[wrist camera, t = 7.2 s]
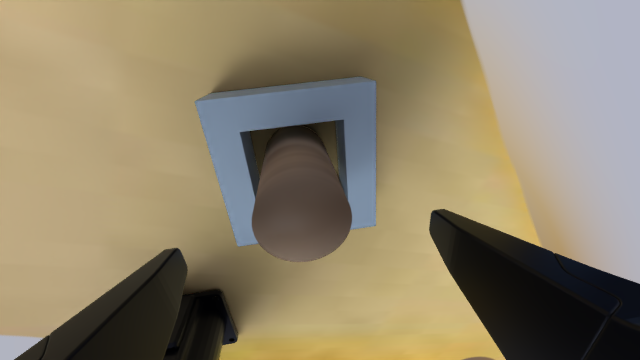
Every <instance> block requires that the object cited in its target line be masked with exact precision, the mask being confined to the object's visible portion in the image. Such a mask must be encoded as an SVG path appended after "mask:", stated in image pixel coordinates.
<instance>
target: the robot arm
mask: <svg viewBox="0 0 640 360" xmlns="http://www.w3.org/2000/svg"><path fill="white" fill-rule="evenodd" d="M429 231H430V235H431V237H432V239H433V241H434V243H435V245H436V247H437V249H438V251H439V253H440V255H441V257H442V259H443V261H444V263H445V265H446V267H447V268H448V270H449V272H450V274H451V275H452V277H453V278H454V280H455V282H456V283H457V285H458V286H459V288H460V289H461V291H462V292H463V294H464V295H465V297H466V299H467V300H468V302H469V303H470V305H471V306H472V308H473V309H474V311H475V312H476V314H477V316H478V317H479V319H480V320H481V322H482V323H483V325H484V326H485V328H486V329H487V331H488V333H489V334H490V336H491V337H492V339H493V340H494V342H495V343H496V345H497V346H498V348H499V349H500V351H501V353H502V354H503V356H504V357H505V359H506V360H640V284H638V283H636V282H633V281H630V280H627V279H624V278H621V277H618V276H615V275H612V274H610V273H607V272H604V271H601V270H598V269H596V268H593V267H590V266H588V265H585V264H582V263H580V262H577V261H575V260H572V259H569V258H567V257H564V256H562V255H559V254H556V253H555V254H554V253H553V252H552V251H549V250H547V249H544V248H541V247H539V246H536V245H534V244H531V243H529V242H526V241H524V240H521V239H519V238H516V237H514V236H511V235H509V234H506V233H503V232H501V231H498V230H496V229H493V228H491V227H488V226H486V225H483V224H481V223H478V222H476V221H473V220H471V219H468V218H466V217H463V216H460V215H458V214H455V213H453V212H450V211H448V210H445V209H439V210H433V211H432V213H431V219H430V227H429ZM186 276H187V265H186V262H185V260H184V258H183V255H182V253H181V251H180V249H178V248H172V249H166V250H164V251H163V252H161V253H160V254H158V255H157V256H156V257H154V258H153V259H152V260H150V261H149V262H147V263H146V264H145V265H143V266H142V267H141V268H139V269H138V270H137V271H135V272H134V273H132V274H131V275H130V276H128V277H127V278H126V279H124V280H123V281H121V282H120V283H119V284H117V285H116V286H115V287H113V288H112V289H111V290H109V291H108V292H106V293H105V294H104V295H102V296H101V297H100V298H98V299H97V300H95V301H94V302H93V303H91V304H90V305H89V306H87V307H86V308H85V309H83V310H82V311H80V312H79V313H78V314H76V315H75V316H74V317H72V318H71V319H69V320H68V321H67V322H65V323H64V324H63V325H61V326H60V327H59V328H57V329H56V330H54V331H53V332H52V333H51V334H50V336H49V335H48V336H46V337H45V338H43V339H42V340H41V341H39V342H38V343H37V344H35V345H34V346H32V347H31V348H30V349H28V350H27V351H26V352H24V353H23V354H21V355H20V356H18V357H17V358H16V359H14V360H219V357H220V353H221V348H222V345H226V344H232V343H235V342H237V339H238V334H237V331H236V328H235V326H234V323H233V320H232V317H231V315H230V312H229V309H228V306H227V304H226V301H225V298H224V296H223V293H222V292H221V291H219V290H213V291H206V292H200V293H194V294H188V295H182V294H183V289H184V285H185V280H186Z"/></svg>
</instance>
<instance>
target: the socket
mask: <svg viewBox="0 0 640 360" xmlns="http://www.w3.org/2000/svg"><path fill="white" fill-rule="evenodd" d="M195 104H196V107H197V111H198V114H199V118H200V121H201V124H202V128H203V131H204V134H205V138H206V141H207V145H208V148H209V151H210V155H211V158H212V161H213V165H214V168H215V172H216V175H217V178H218V182H219V185H220V188H221V192H222V195H223V199H224V202H225V205H226V209H227V212H228V215H229V219H230V222H231V225H232V229H233V232H234V236H235V239H236V242H237V246H238V247H239V246H245V245H252V244H259V243H258V242H257V240H256V238H255V236H254V233H253V230H252V214H253V209H254V204H255V199H256V195H257V190H258V185H259V180H260V176H259V172H258V167H257V163H256V158H255V153H254V149H253V144H252V140H251V135H250V131H253V130H261V129H269V128H278V127H286V126H294V125H302V124H311V123H319V122H327V121H335V125H336V140H337V155H338V170H339V181H340V183H341V186H342V188H343V190H344V193H345V195H346V197H347V200H348V202H349V204H350V207H351V211H352V224H351V228H350V230H352V229H358V228H365V227H371V226H376V81H375V80H371V79H368V78H364V77H352V78H343V79H334V80H325V81H316V82H307V83H298V84H289V85H280V86H271V87H262V88H253V89H244V90H235V91H226V92H217V93H210V94H208V95H206V96H204V97H202V98H200V99H198V100H196V101H195Z"/></svg>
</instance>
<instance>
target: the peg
mask: <svg viewBox="0 0 640 360" xmlns="http://www.w3.org/2000/svg"><path fill="white" fill-rule="evenodd" d="M351 224H352V211H351V207H350V204H349V202H348V200H347V197H346V195H345V193H344V190H343V188H342V186H341V183H340V181H339V179H338V176H337V174H336V172H335V169H334V167H333V165H332V162H331V160H330V158H329V155H328V153H327V151H326V148H325V146H324V144H323V142H322V140H321V138H320V137H319V136H318V134H317V133H315V132H314V131H313V130H311V129H309V128H307V127H304V126H299V125H294V126H287V127H284V128H282V129H280V130H278V131H277V132H276V133H275V134H273V136H272V137H271V138H270V140H269V142H268V144H267V147H266V151H265V156H264V161H263V166H262V171H261V175H260V180H259V185H258V190H257V195H256V199H255V204H254V209H253V214H252V230H253V233H254V236H255V238H256V240H257V242H258V243H259V244H260V246H261V247H262V248H263V249H264V250H266V251H267V252H268V253H270V254H271V255H273V256H275V257H277V258H280V259H283V260H287V261H293V262H306V261H312V260H316V259H319V258H322V257H324V256H326V255H328V254H330V253H331V252H333V251H334V250H336V249H337V248H338V247H339V246H340V245H341V244H342V243H343V242H344V240H345V239H346V237H347V235H348V233H349V231H350V228H351Z"/></svg>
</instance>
